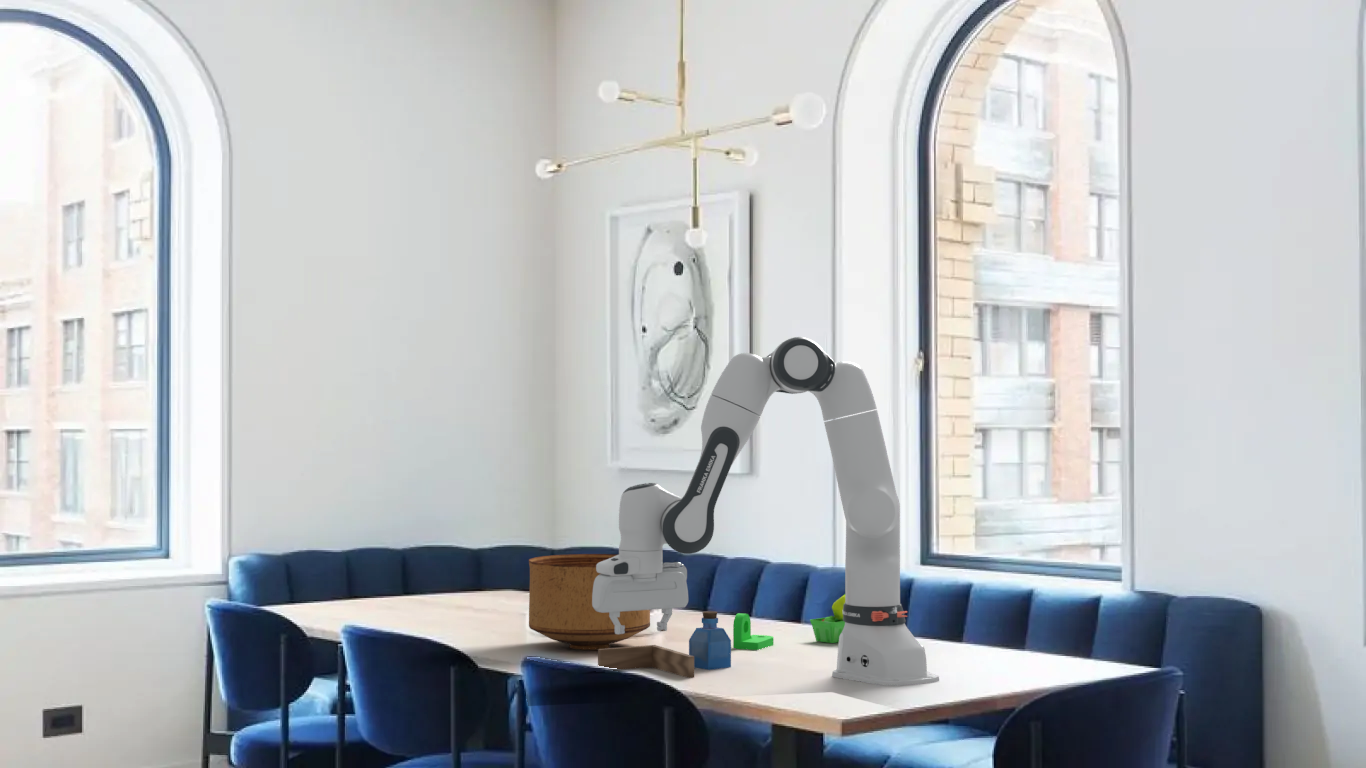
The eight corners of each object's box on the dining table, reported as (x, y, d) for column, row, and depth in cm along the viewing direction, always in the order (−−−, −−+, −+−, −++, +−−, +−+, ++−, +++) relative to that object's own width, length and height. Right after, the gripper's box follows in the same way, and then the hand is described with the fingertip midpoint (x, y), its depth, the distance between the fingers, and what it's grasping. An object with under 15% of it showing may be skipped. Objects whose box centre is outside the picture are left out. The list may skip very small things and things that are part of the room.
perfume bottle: (730, 670, 349) (730, 612, 349) (708, 673, 345) (708, 614, 345) (711, 666, 353) (711, 609, 353) (689, 669, 349) (688, 612, 349)
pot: (518, 641, 391) (518, 555, 391) (633, 636, 398) (633, 552, 399) (541, 658, 364) (541, 566, 365) (664, 653, 372) (664, 563, 372)
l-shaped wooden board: (694, 681, 334) (694, 656, 334) (635, 686, 328) (635, 660, 328) (654, 668, 350) (654, 644, 350) (598, 673, 344) (597, 649, 344)
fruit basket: (839, 636, 399) (839, 589, 399) (868, 640, 392) (868, 592, 392) (808, 641, 391) (808, 593, 391) (837, 645, 384) (837, 596, 384)
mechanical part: (758, 651, 376) (758, 616, 376) (733, 650, 378) (733, 614, 378) (777, 644, 387) (777, 610, 387) (753, 643, 389) (753, 608, 389)
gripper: (679, 560, 345) (679, 627, 345) (588, 564, 336) (588, 633, 336) (693, 562, 340) (693, 631, 339) (601, 567, 330) (601, 637, 330)
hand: (640, 632), depth 338 cm, fingers open, 8 cm apart
